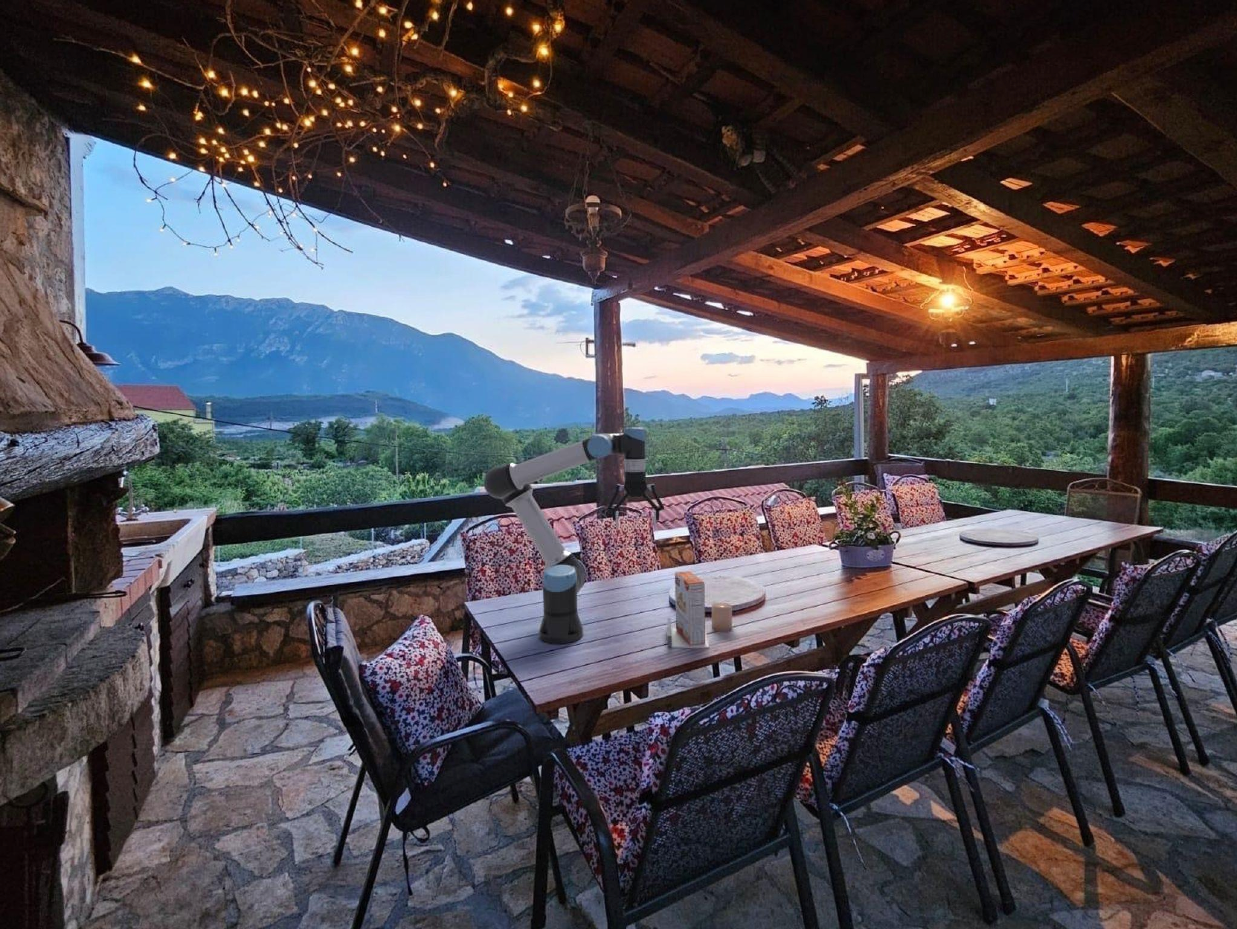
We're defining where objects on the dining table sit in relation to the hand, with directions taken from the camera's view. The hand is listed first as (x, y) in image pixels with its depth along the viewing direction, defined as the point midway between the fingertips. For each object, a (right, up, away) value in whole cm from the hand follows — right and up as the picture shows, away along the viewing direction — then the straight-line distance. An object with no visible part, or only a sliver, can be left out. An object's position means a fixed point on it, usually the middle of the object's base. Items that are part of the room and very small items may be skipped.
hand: (636, 529), depth 198 cm
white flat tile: (+18, -35, -12) cm, 41 cm away
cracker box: (+18, -35, -12) cm, 41 cm away
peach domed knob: (+30, -35, -3) cm, 46 cm away
